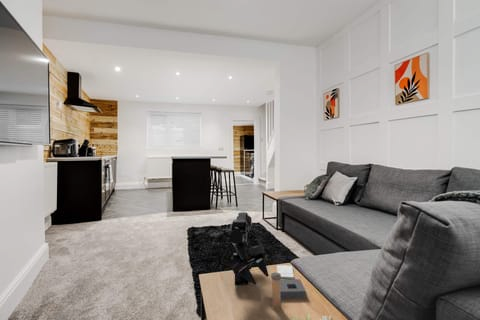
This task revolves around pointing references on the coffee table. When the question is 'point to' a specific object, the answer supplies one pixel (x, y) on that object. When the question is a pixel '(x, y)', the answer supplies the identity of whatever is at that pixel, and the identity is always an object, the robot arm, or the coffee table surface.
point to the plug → (276, 291)
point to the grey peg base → (292, 289)
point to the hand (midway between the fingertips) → (261, 280)
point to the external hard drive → (285, 271)
